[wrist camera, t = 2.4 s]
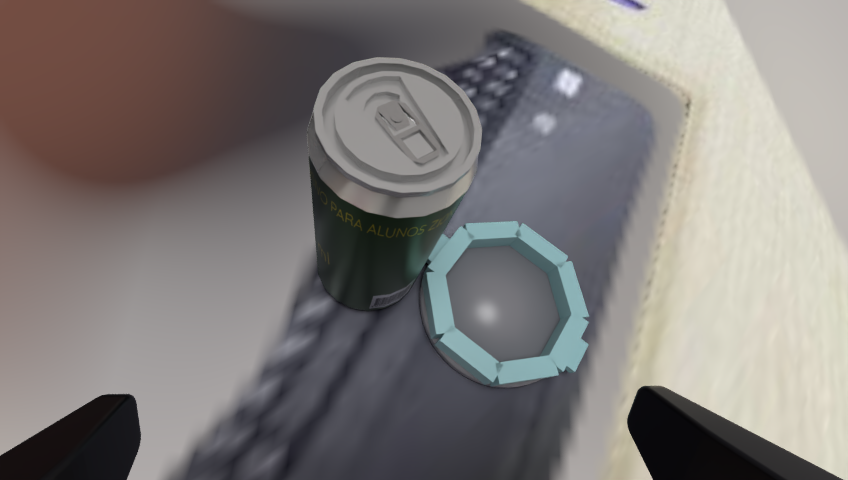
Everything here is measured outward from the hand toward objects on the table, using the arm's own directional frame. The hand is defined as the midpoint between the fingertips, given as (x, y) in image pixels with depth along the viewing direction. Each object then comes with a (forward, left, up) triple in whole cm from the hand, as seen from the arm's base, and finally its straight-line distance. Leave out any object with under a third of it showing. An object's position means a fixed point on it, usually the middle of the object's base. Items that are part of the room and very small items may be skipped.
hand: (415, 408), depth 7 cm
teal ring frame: (+9, -2, -13) cm, 16 cm away
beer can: (+6, +5, -14) cm, 16 cm away
